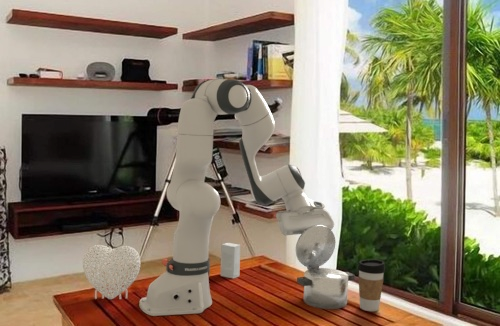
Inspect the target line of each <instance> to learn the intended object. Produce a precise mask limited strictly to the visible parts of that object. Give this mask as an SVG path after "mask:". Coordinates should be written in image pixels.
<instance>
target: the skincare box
mask: <svg viewBox="0 0 500 326" xmlns="http://www.w3.org/2000/svg"><path fill="white" fill-rule="evenodd" d="M220 246H221V248H220V249H221V252H220V253H221V254H220V277H225V278H228V279H233V280H234V279H236V278H239V277H240V272H241V271H240V270H241V268H240V267H241V244H237V243H232V242H226V243H221V245H220Z"/></svg>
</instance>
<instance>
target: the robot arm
mask: <svg viewBox="0 0 500 326" xmlns="http://www.w3.org/2000/svg"><path fill="white" fill-rule="evenodd" d="M218 115H220V116H221V115H235V117H236V119H237V122H238V124H239V125H240V127H241V132H242V133H241V134H242V136H241V138H240V139H239V143H238V144H239V149H240V153H241V157H242V160H243V163H244V168H245V171H246V174H247V177H248V181H249V185H250V192H251V195H252V197H253V199H254V201H255V202H256V204H258V205H260V206H261V205H262V206H269V205H271V204H272V203H274V202H275V201H277V200H279V199H282V201H283V202H284V207H285V209H286V210H285V209H284V210H278V211H277V212H276V213H275V218H276V220H277V221H278V222H277V223H278V228H279V231H280V233H281V234H282V235H283V236H293V235H295V236H296V235H301V234H302V233H303V232H304V231H305V230H306V229H307V228H309V227H311V226H314V225H324V226H326V227H328V228H329V229H330V230H331V231H332V230H333V228H334V226H335V222H334V219H333V218H332V215H331V214H330V212H329V211H328V210H327V209H325V207H326V206H325V203H324V202H321V201H317V200H313V199H311V198H309V197H308V195H307V194H306V192H305V185H306V182H305V180H304V178H303V177H302V173H301V171H300V169H299V168H298V166H295V165H294V164H293V165H292V164H285V165H284V166H280V167H279V168H277V169H275V170H273V171H271V172H269V173H267V174H264V175H260V173H259V172H260V171H259V169H258V167H257V162H256V159H255V158H256V155H257V154H258V152H259V150H260V149H261V148H262V147H263V146H264V145H265V144H266V143H267V142H268V141H269V140H270V139H271V137H272V135H273V134H274V131H275V127H276V122H275V120H274V119H275V118H274V116H273V114H272V112H271V109H270V107H269V105H268V103H267V102H266V100H265V98H264V96H263V95H262V93H261V92H260V91H259V89H258V88H257V87H256V86H254V85H251V84H244V83H243V82H242V81H240V80H238V79H235V78H229V79H226V78H214V79H208V80H204V81H202V82H199V83H198V85H196V87H195V88H194V90H193V92H192V96H191V97H190V99H186V100H185V101H184V102H182V105H181V107H180V112H179V116H178V122H177V134H176V147H175V148H176V149H175V151H176V152H175V153H176V154H175V162H174V167H173V171H172V174H171V179H170V183H169V184H168V185H167V187H166V199H167V201H168V202H169V204H170V205H171V207H172V208H174V210H177V211H179V218H178V223H177V227H176V228H175V231H174V232H173V237H172V238H173V242H172V258H171V259H170V260H168V259H167V258H163V259H162V261H161V264H162V265H163V266H165V267H166V268H165V269H166V271H164V272H163V273H162V274H161V275H160V276H158V277H157V278H156V279H154V280H152V282H151V283H150V284H149V286H148V288H147V291H146V292H147V294H146V296H145V297H141V299H140V300H139V305H138V306H139V308H140V310H141V311H142V312H143V313H145V314H147V315H148V316H151V317H152V316H153V317H157V316H171V315H172V316H173V315H191V314H202V313H203V312H204V311H205V310H206V309H207V308H210V307H211V305H212V304H213V300H212V295H211V289H210V283H209V282H210V280H209V277H210V271H211V263H210V262H211V261H210V258H209V252H210V251H209V247H210V233H211V229H212V224H213V220H214V217H215V215H216V214H217V213H218V211H219V209H220V207H221V197H220V194H219V192H218V191H217V190H216V189H215V188H214V187H213V186H212V185H211V184H209V183H208V182H205V180H206V176H207V172H208V169H209V166H210V165H211V163H212V161H213V148H214V124H215V120H216V117H218Z"/></svg>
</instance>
